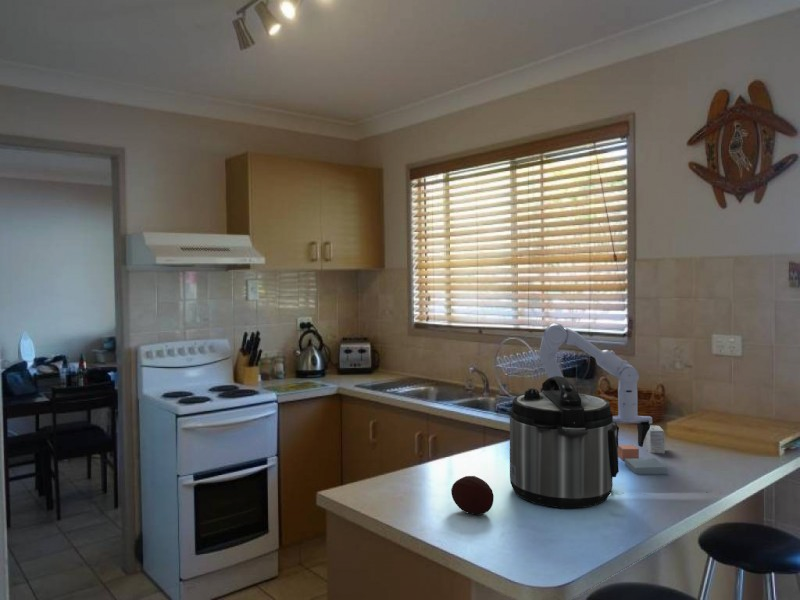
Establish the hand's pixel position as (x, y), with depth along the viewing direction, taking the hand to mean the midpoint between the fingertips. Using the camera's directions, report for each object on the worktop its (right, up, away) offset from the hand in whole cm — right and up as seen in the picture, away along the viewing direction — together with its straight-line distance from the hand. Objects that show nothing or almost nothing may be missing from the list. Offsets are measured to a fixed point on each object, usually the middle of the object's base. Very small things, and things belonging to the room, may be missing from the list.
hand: (628, 446), depth 199 cm
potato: (-54, -8, -41) cm, 68 cm away
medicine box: (+12, -5, +9) cm, 16 cm away
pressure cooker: (-27, -7, -27) cm, 39 cm away
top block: (+1, -4, -12) cm, 12 cm away
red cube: (0, -5, 0) cm, 5 cm away
